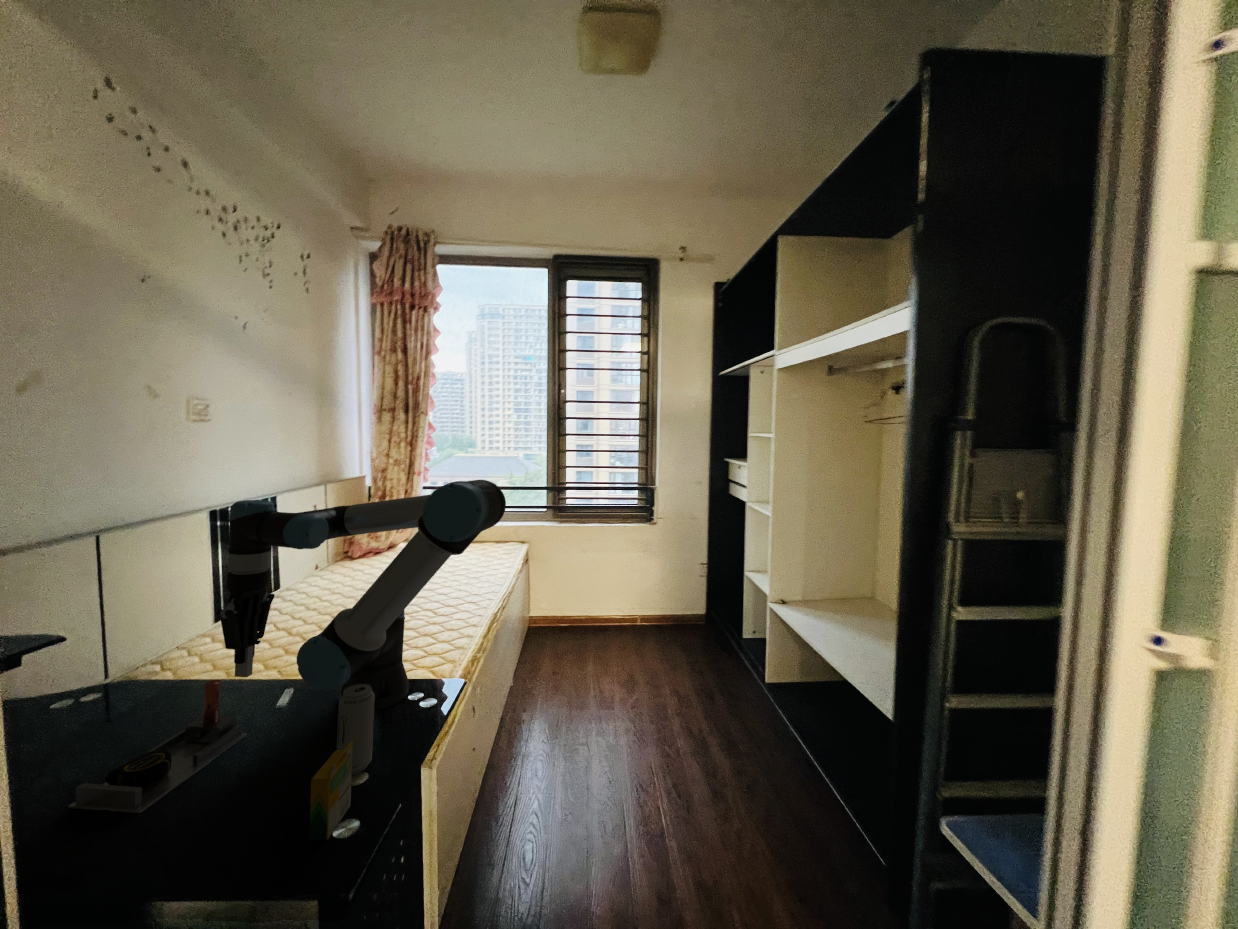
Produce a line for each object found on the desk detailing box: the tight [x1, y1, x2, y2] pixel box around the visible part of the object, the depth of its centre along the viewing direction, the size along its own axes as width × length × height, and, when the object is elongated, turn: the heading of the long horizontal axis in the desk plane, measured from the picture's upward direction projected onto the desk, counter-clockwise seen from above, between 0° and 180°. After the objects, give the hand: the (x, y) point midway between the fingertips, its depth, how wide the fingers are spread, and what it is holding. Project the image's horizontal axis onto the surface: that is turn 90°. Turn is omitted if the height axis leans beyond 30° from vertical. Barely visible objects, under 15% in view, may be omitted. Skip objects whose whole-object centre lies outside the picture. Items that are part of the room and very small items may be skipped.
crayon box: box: [308, 740, 353, 841], centre depth 75 cm, size 7×3×12 cm, turn 4°
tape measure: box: [105, 751, 171, 787], centre depth 81 cm, size 7×7×4 cm
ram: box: [184, 679, 237, 743], centre depth 93 cm, size 7×5×11 cm
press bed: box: [68, 724, 248, 814], centre depth 85 cm, size 12×21×3 cm, turn 179°
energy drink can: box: [336, 684, 375, 776], centre depth 88 cm, size 6×6×15 cm
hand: (243, 675), depth 102 cm, fingers closed
